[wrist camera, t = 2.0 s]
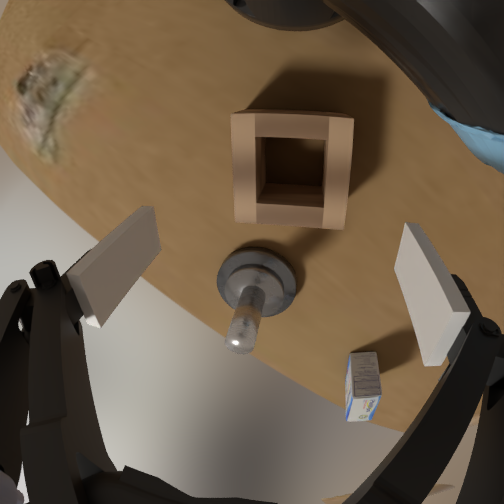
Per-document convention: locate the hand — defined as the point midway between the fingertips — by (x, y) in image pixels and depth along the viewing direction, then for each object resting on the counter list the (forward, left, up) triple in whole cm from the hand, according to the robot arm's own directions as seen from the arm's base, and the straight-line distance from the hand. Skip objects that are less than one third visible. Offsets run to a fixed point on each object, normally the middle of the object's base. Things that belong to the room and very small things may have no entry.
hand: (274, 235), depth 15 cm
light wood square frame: (0, 0, -17) cm, 17 cm away
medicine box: (+32, +13, -18) cm, 39 cm away
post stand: (+16, -4, -17) cm, 24 cm away
